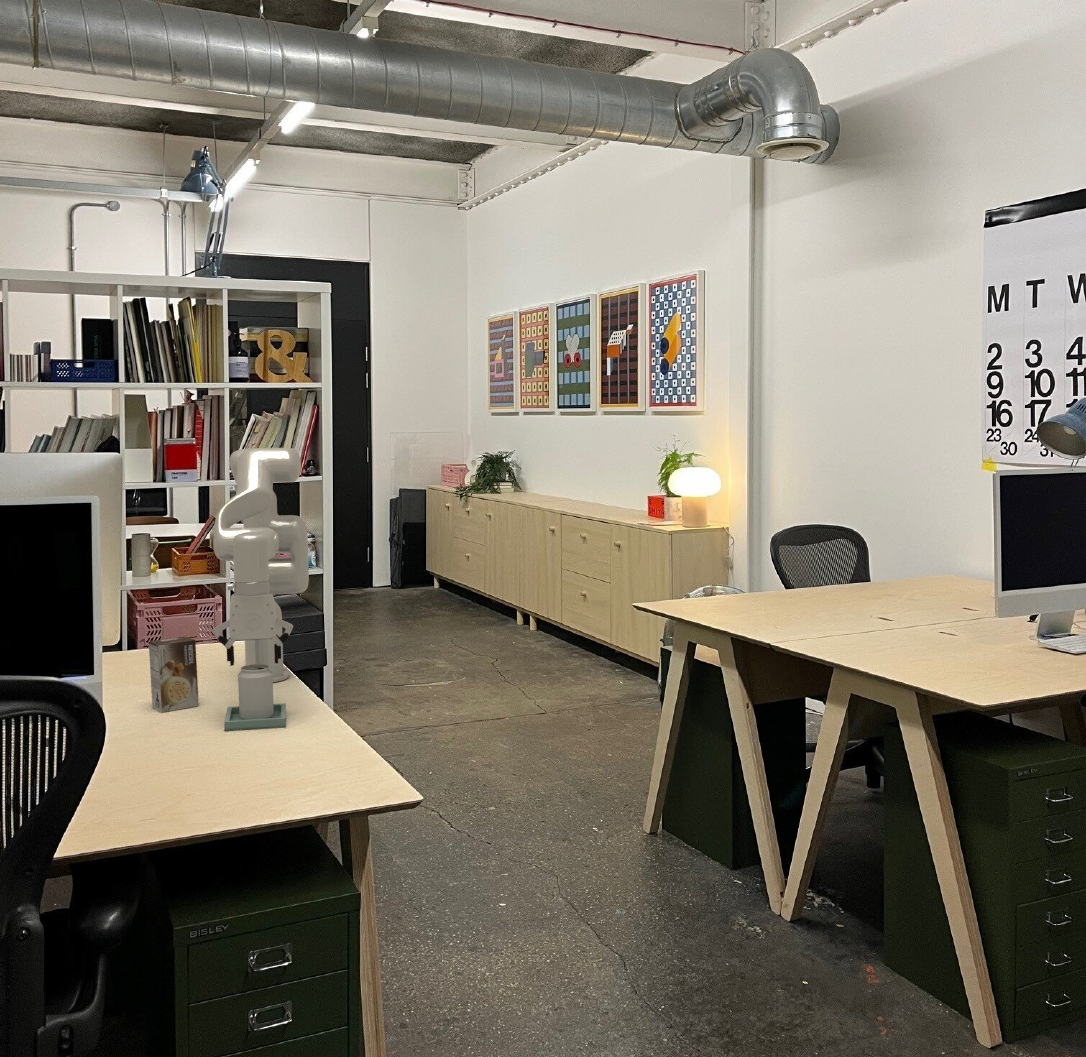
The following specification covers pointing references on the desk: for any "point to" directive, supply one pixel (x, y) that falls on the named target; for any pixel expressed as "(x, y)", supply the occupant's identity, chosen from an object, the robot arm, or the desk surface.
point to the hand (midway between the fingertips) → (254, 663)
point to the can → (255, 692)
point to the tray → (237, 723)
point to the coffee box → (173, 674)
